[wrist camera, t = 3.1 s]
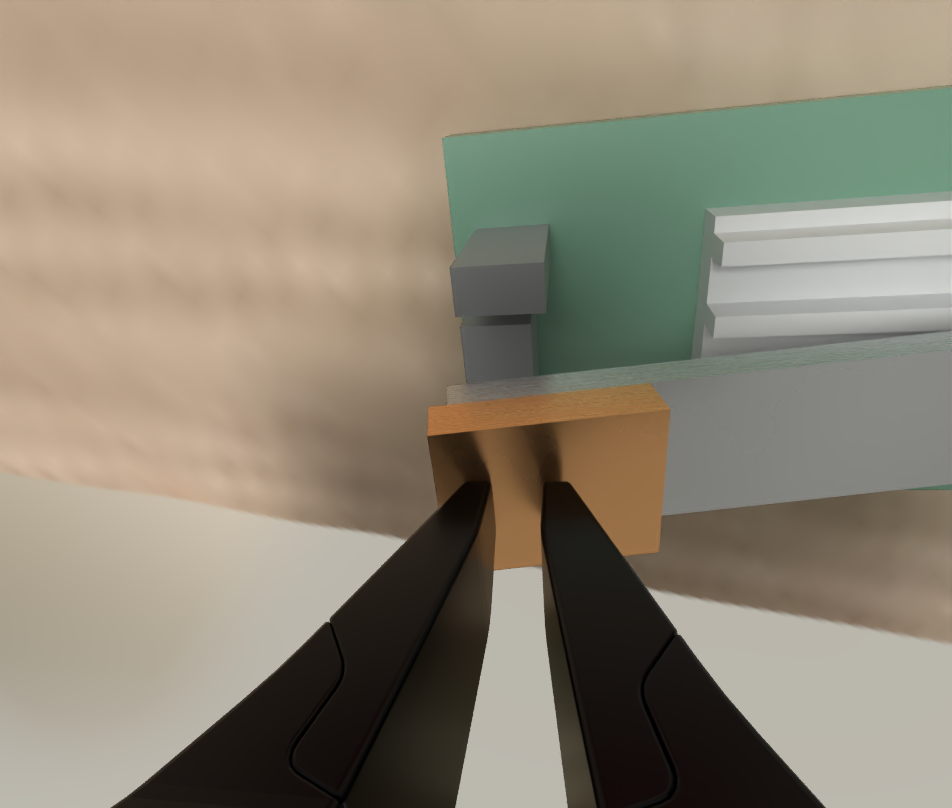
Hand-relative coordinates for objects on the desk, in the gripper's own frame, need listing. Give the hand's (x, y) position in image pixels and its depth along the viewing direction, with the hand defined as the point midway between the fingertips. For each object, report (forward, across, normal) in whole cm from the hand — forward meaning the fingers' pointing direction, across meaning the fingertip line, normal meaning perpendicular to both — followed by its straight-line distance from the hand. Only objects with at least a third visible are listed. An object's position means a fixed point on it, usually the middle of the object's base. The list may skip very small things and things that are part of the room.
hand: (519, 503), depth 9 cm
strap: (+3, -7, 0) cm, 8 cm away
